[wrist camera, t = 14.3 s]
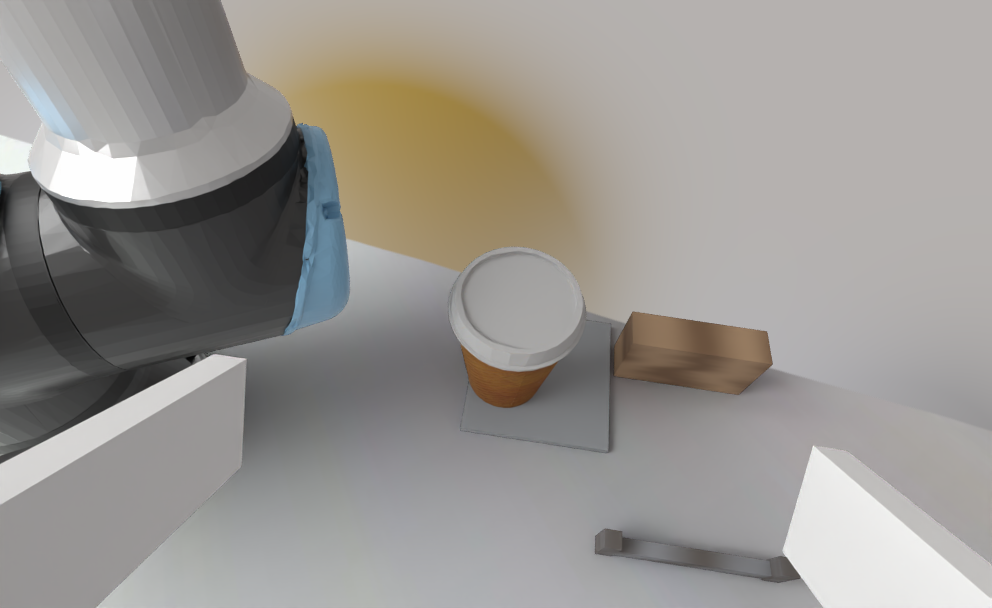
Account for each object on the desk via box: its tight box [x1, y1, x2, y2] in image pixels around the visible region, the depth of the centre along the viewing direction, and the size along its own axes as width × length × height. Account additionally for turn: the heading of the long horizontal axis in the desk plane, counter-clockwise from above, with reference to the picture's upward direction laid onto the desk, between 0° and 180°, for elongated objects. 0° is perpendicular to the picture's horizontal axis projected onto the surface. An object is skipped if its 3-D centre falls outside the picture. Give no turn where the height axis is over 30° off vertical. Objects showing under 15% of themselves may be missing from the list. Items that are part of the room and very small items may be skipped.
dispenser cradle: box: [595, 312, 801, 583], centre depth 41 cm, size 13×18×6 cm
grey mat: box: [460, 320, 611, 453], centre depth 46 cm, size 12×12×1 cm
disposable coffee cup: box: [448, 247, 586, 408], centre depth 40 cm, size 10×10×12 cm
